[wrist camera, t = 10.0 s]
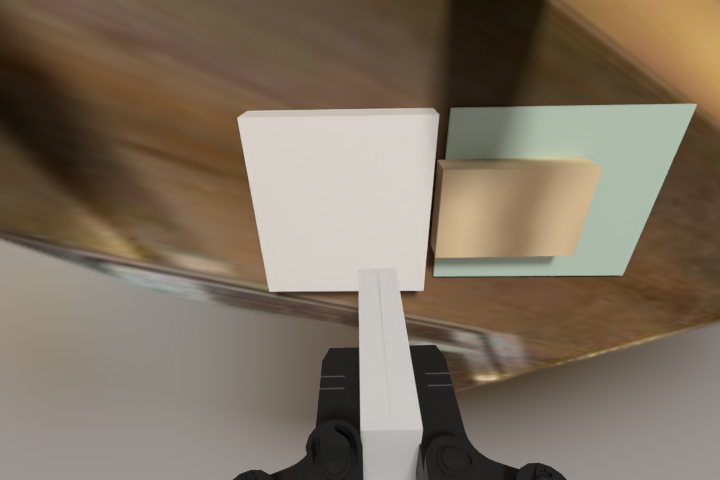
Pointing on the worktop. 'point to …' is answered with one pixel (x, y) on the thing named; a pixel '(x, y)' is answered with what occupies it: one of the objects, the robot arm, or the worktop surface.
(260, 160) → the white flat square block
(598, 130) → the mat
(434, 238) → the tan flat block
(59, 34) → the worktop surface
